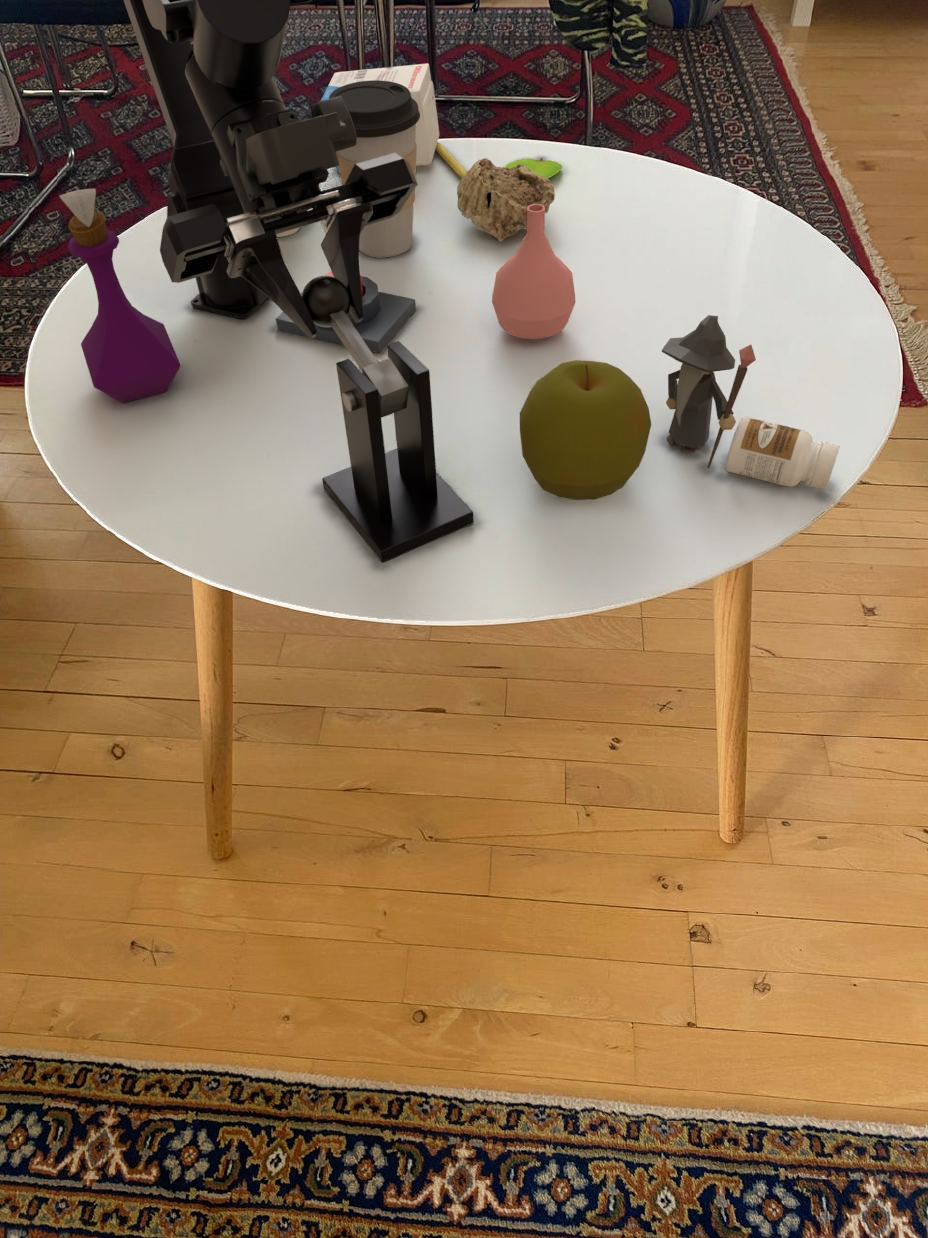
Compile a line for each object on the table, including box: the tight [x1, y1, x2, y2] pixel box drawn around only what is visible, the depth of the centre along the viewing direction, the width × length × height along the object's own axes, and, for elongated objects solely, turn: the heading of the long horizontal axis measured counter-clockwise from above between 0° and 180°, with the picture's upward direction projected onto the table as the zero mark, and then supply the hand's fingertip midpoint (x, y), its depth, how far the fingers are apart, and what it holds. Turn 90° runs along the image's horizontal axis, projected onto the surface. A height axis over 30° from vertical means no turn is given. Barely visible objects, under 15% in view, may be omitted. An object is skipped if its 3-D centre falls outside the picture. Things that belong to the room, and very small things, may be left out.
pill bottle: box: [725, 416, 841, 490], centre depth 77 cm, size 4×4×8 cm
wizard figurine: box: [661, 314, 756, 469], centre depth 76 cm, size 8×6×12 cm
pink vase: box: [491, 204, 576, 340], centre depth 89 cm, size 8×8×12 cm
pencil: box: [435, 142, 468, 180], centre depth 117 cm, size 1×14×1 cm
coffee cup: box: [329, 80, 420, 259], centre depth 100 cm, size 9×9×15 cm
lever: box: [301, 275, 409, 419], centre depth 71 cm, size 12×4×4 cm, turn 31°
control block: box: [275, 275, 417, 354], centre depth 95 cm, size 11×8×3 cm
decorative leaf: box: [504, 157, 563, 179], centre depth 115 cm, size 8×9×1 cm
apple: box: [519, 359, 652, 501], centre depth 75 cm, size 10×10×11 cm
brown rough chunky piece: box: [456, 157, 556, 242], centre depth 105 cm, size 11×7×10 cm
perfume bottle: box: [59, 188, 181, 403], centre depth 83 cm, size 8×8×18 cm
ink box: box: [320, 63, 440, 174], centre depth 116 cm, size 9×8×12 cm
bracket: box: [321, 340, 474, 563], centre depth 73 cm, size 10×8×13 cm
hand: (336, 328), depth 73 cm, fingers closed on lever, 3 cm apart
